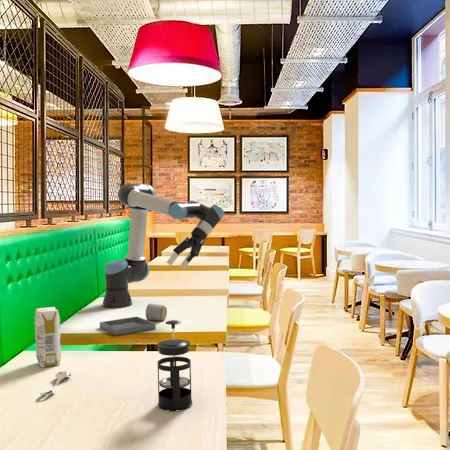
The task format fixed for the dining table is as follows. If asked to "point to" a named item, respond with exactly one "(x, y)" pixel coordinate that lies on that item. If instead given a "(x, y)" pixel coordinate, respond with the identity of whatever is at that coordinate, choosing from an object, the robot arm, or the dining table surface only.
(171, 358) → the french press
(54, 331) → the juice carton
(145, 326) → the tray
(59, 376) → the grey elongated piece
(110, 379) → the dining table surface
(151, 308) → the ceramic mug
